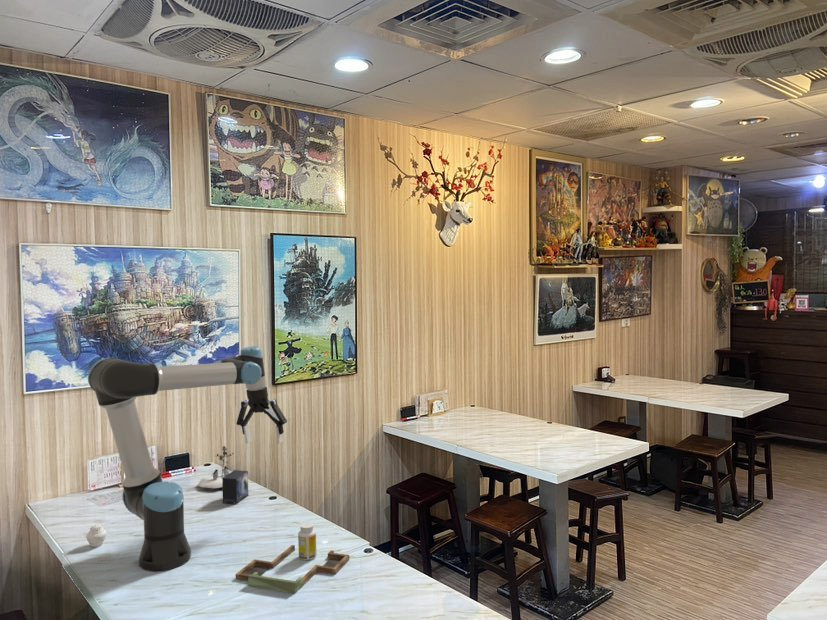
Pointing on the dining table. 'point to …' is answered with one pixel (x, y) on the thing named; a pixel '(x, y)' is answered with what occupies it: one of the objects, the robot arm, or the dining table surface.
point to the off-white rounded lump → (96, 536)
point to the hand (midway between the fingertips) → (264, 442)
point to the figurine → (216, 474)
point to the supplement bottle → (307, 542)
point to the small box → (235, 487)
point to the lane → (260, 567)
